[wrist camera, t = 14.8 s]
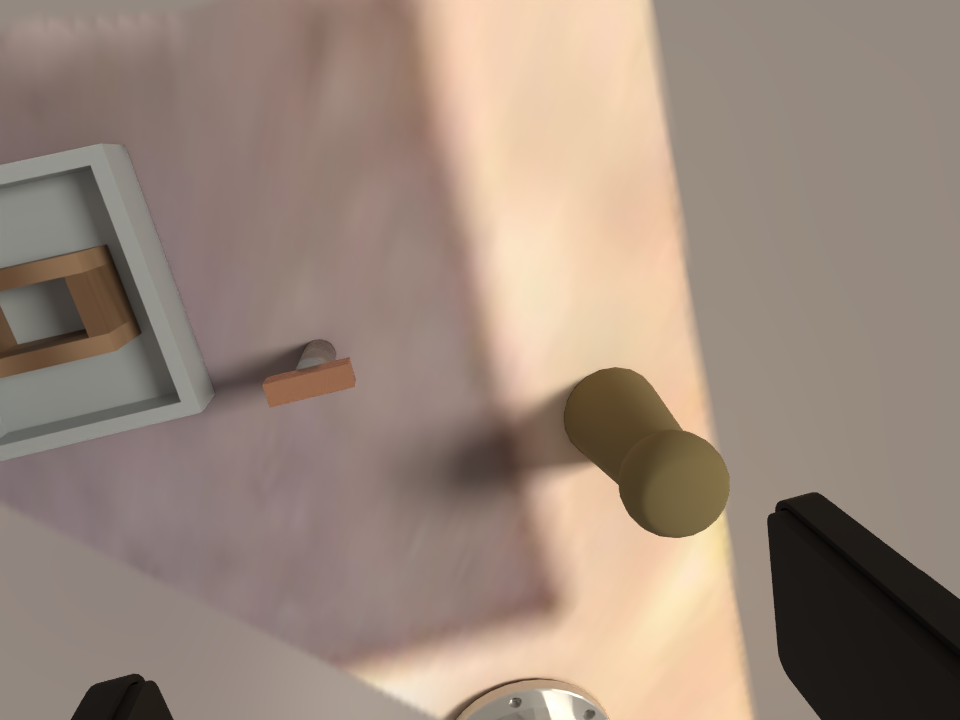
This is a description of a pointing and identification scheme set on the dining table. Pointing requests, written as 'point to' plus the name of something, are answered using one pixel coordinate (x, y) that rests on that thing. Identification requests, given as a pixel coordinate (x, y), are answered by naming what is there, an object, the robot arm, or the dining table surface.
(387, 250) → the dining table surface
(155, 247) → the tray
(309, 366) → the brown grey t-shaped piece
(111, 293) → the collar
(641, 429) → the cork
